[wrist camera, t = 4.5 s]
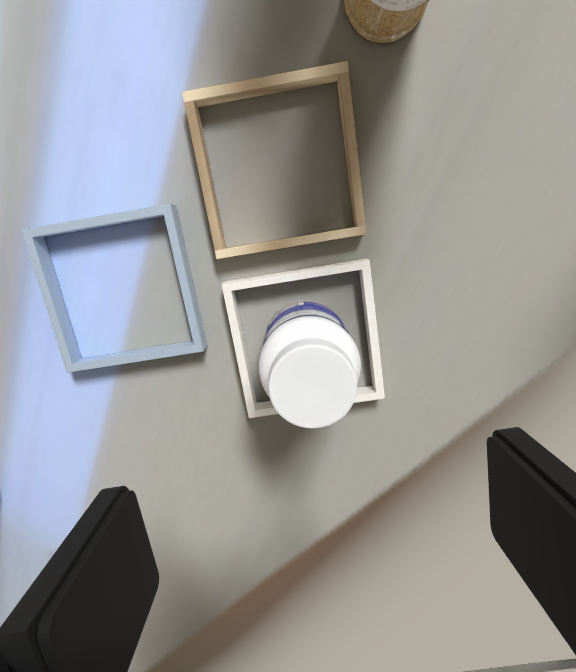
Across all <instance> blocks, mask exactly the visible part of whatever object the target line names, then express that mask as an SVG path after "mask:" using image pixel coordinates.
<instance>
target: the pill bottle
mask: <svg viewBox="0 0 576 672" xmlns="http://www.w3.org/2000/svg"><path fill="white" fill-rule="evenodd" d="M360 370H361V363H360V355H359V352H358V349H357V347H356V344H355V342H354V340H353V339H352V337H351V336H350V334H349V332H348V331H347V329H346V328H345V326H344V324H343V323H342V321H341V320H340V318H339V317H338V315H337V314H336V313H335V312H334V311H333V310H332V309H330V308H329V307H328V306H326V305H324V304H322V303H319V302H316V301H310V300H301V301H296V302H292V303H290V304H288V305H286V306H284V307H283V308H281V309H280V310H279V311H278V312H277V313H276V314H275V315H274V316H273V317H272V319H271V321H270V322H269V325H268V327H267V330H266V335H265V340H264V344H263V347H262V351H261V355H260V359H259V376H260V380H261V383H262V386H263V388H264V390H265V392H266V393H267V395H268V396H269V397H270V400H271V402H272V405H273V406H274V408H275V410H276V411H277V412H278V413H279V414H280V416H282V417H283V418H284V419H285V420H287V421H288V422H290V423H292V424H294V425H296V426H300V427H304V428H321V427H325V426H328V425H331V424H333V423H335V422H337V421H338V420H340V419H341V418H342V417H343V416H344V415H345V414H346V413H347V412H348V411H349V410H350V408H351V407H352V405H353V403H354V400H355V397H356V393H357V383H358V380H359V376H360Z"/></svg>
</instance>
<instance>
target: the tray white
mask: <svg viewBox="0 0 576 672" xmlns="http://www.w3.org/2000/svg"><path fill="white" fill-rule="evenodd" d="M356 270H359V274H360V283H361V291H362V300H363V308H364V317H365V326H366V334H367V343H368V351H369V360H370V368H371V377H372V386H366V387H359V388H357V393H356V397H355V400H354V403H356V402H363V401H370V400H376V399H383V398H385V397H384V388H383V378H382V369H381V360H380V351H379V342H378V333H377V324H376V314H375V305H374V296H373V287H372V278H371V269H370V260H369V259H360V260H354V261H348V262H342V263H335V264H329V265H323V266H317V267H311V268H305V269H299V270H293V271H287V272H280V273H274V274H268V275H262V276H256V277H250V278H244V279H238V280H232V281H226V282H224V283H222V289H223V293H224V298H225V303H226V308H227V313H228V318H229V323H230V328H231V333H232V337H233V342H234V347H235V352H236V357H237V362H238V367H239V372H240V376H241V381H242V386H243V391H244V396H245V401H246V406H247V411H248V416H249V418H254V417H261V416H267V415H274V414H279V413H278V412H277V411H276V410H275V408H274V406H273V405H272V402H271V401H265V402H258V403H257V402H256V397H255V392H254V387H253V382H252V377H251V372H250V367H249V362H248V356H247V351H246V346H245V341H244V336H243V331H242V326H241V321H240V316H239V311H238V306H237V301H236V296H235V291H234V290H239V289H245V288H251V287H257V286H263V285H270V284H276V283H282V282H288V281H294V280H300V279H306V278H313V277H319V276H325V275H331V274H337V273H343V272H350V271H356Z"/></svg>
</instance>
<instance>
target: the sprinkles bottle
mask: <svg viewBox="0 0 576 672" xmlns="http://www.w3.org/2000/svg"><path fill="white" fill-rule="evenodd" d="M428 1H429V0H344V3H345V11H346V14H347V16H348V18H349V20H350V22H351V24H352V26H353V27H354V29H355V30H356V31H357V32H358V33H359V34H360V35H361V36H363V37H364V38H365V39H367V40H370V41H372V42H379V43H386V42H393V41H397V40H399V39H400V38H402V37H404V36H405V35H407V34H408V33H409V32H410V31H411V30H413V29H414V27H415V26H416V25H417V24H418V22H419V20H420V19H421V17H422V16H423V14H424V11H425V9H426V6H427V3H428Z"/></svg>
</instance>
